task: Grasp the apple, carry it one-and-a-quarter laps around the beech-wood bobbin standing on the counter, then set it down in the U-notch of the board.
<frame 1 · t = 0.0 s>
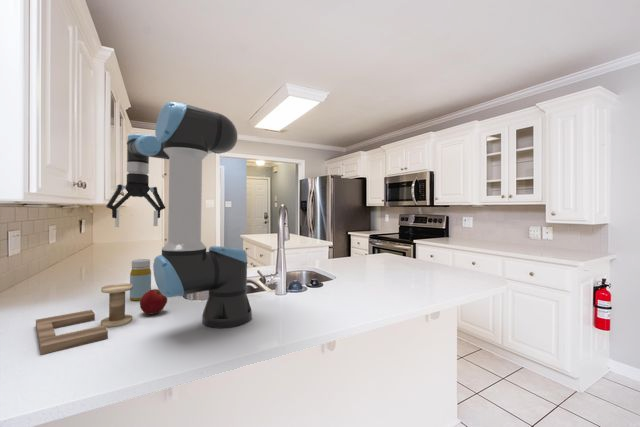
hand: (137, 226, 118), 28 cm above the worktop, fingers open, 13 cm apart
bottle: (140, 299, 114), on the worktop
notched board: (70, 332, 82), on the worktop
bobbin: (116, 322, 90), on the worktop
apple: (153, 313, 98), on the worktop
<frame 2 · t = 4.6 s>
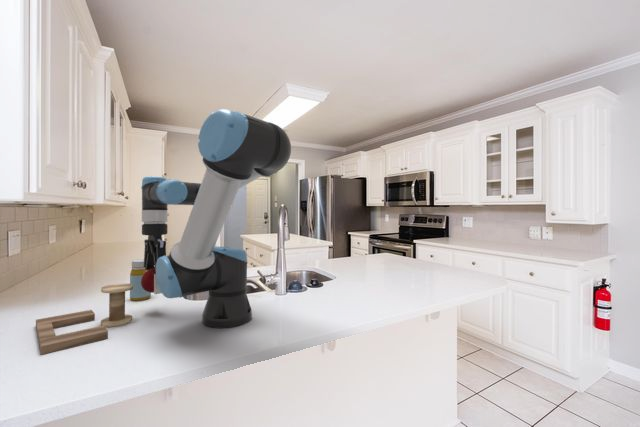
hand: (154, 291, 98), 8 cm above the worktop, fingers closed on apple, 8 cm apart
apple: (154, 292, 98), point 7 cm above the worktop, touching gripper
everything else where it was.
when the fingers open (2 cm above the worktop, at t = 12.9 s): apple drops 2 cm, on the worktop.
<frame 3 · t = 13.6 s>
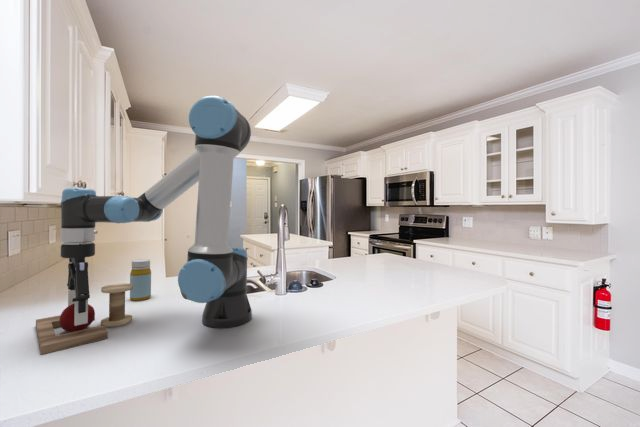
hand: (77, 317, 83), 4 cm above the worktop, fingers open, 13 cm apart
apple: (77, 331, 83), on the worktop
everything else where it was.
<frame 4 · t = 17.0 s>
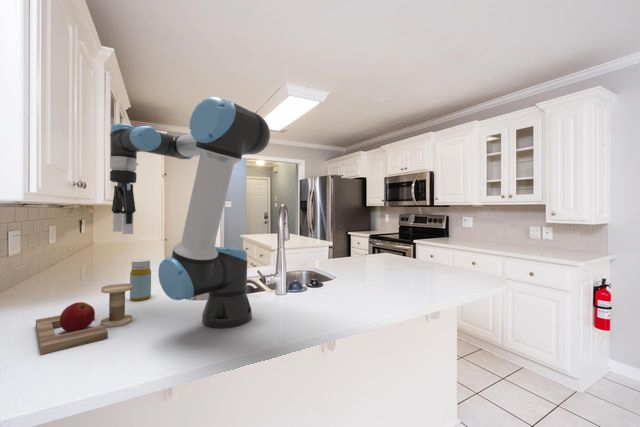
hand: (122, 232, 100), 27 cm above the worktop, fingers open, 13 cm apart
nothing on the worktop moved.
at the end: apple inside the target area on the notched board (0.4 cm from its centre), point 0.0 cm above the notched board's base; the gripper is holding nothing; apple on the worktop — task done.
